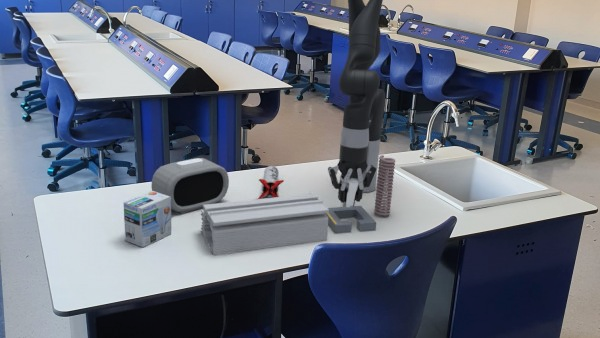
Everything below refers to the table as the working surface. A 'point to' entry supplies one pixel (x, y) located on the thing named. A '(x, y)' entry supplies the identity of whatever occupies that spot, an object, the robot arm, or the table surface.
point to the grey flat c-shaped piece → (362, 216)
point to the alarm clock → (191, 183)
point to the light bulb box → (147, 218)
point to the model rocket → (270, 182)
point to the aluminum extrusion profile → (264, 223)
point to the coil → (381, 191)
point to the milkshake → (351, 193)
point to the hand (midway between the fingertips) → (349, 201)
